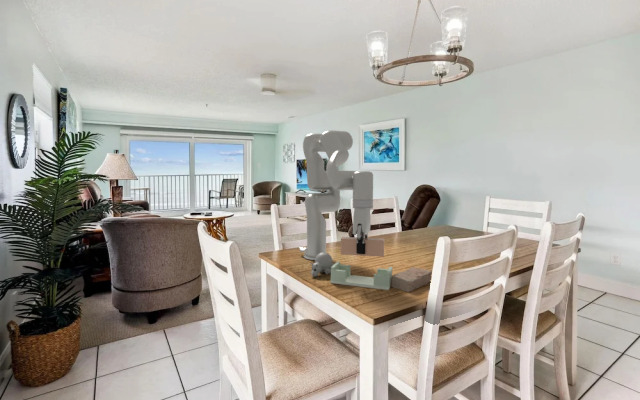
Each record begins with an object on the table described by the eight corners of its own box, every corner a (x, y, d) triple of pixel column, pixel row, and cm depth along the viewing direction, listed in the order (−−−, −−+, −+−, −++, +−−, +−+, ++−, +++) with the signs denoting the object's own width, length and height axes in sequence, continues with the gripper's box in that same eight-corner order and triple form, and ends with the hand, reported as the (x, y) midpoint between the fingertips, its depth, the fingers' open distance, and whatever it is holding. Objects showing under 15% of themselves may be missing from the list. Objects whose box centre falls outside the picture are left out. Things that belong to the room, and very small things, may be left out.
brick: (409, 293, 116) (409, 280, 116) (389, 287, 122) (389, 274, 122) (432, 282, 127) (432, 270, 127) (412, 277, 133) (413, 266, 133)
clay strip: (340, 254, 124) (340, 238, 124) (342, 252, 128) (342, 236, 128) (383, 256, 121) (383, 240, 121) (383, 254, 125) (384, 238, 124)
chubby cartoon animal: (307, 280, 136) (301, 263, 133) (325, 264, 144) (320, 247, 141) (320, 284, 131) (314, 266, 128) (338, 267, 139) (333, 250, 136)
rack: (330, 282, 125) (330, 267, 125) (337, 275, 134) (337, 261, 133) (388, 290, 118) (389, 273, 118) (392, 282, 126) (392, 266, 126)
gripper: (358, 202, 132) (357, 247, 134) (347, 205, 117) (347, 256, 118) (376, 202, 130) (376, 248, 131) (368, 206, 114) (367, 258, 115)
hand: (362, 251), depth 125 cm, fingers closed on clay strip, 4 cm apart
